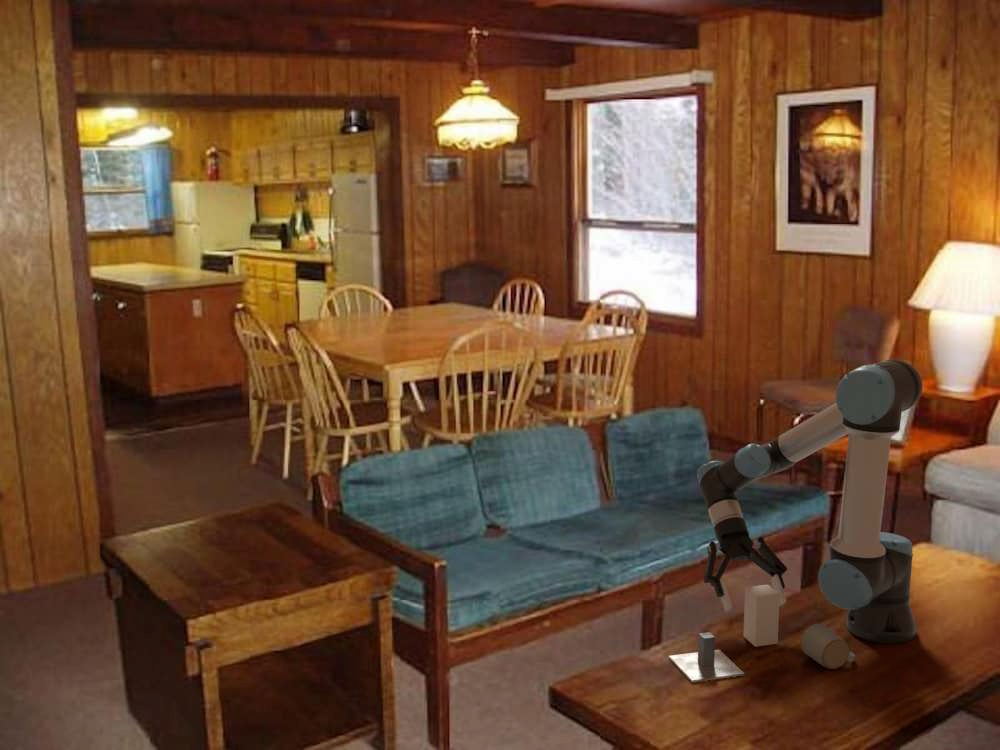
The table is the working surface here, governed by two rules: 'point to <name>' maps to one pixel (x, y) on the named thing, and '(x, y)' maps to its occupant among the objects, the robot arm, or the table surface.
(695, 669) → the square base plate
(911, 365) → the robot arm
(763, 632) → the beige square prism
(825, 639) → the ceramic mug
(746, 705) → the table surface
